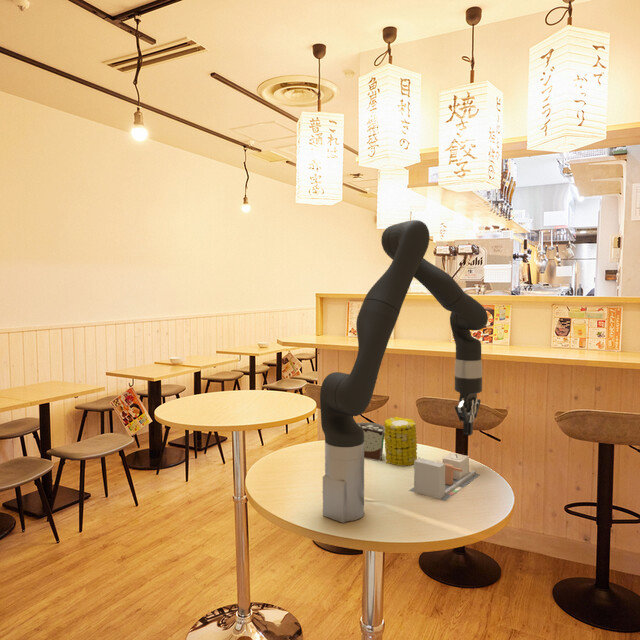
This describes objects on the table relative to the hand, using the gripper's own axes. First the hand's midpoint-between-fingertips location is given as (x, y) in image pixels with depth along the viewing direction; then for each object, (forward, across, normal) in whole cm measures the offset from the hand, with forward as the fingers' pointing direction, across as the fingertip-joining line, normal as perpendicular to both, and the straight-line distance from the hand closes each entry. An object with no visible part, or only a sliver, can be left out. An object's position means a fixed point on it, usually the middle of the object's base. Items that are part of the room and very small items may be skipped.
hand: (468, 434), depth 141 cm
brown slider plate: (+9, -15, -1) cm, 18 cm away
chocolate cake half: (+11, -5, +30) cm, 32 cm away
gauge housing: (+9, -10, 0) cm, 14 cm away
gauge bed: (+11, -14, 0) cm, 18 cm away
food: (+11, -7, +18) cm, 22 cm away
